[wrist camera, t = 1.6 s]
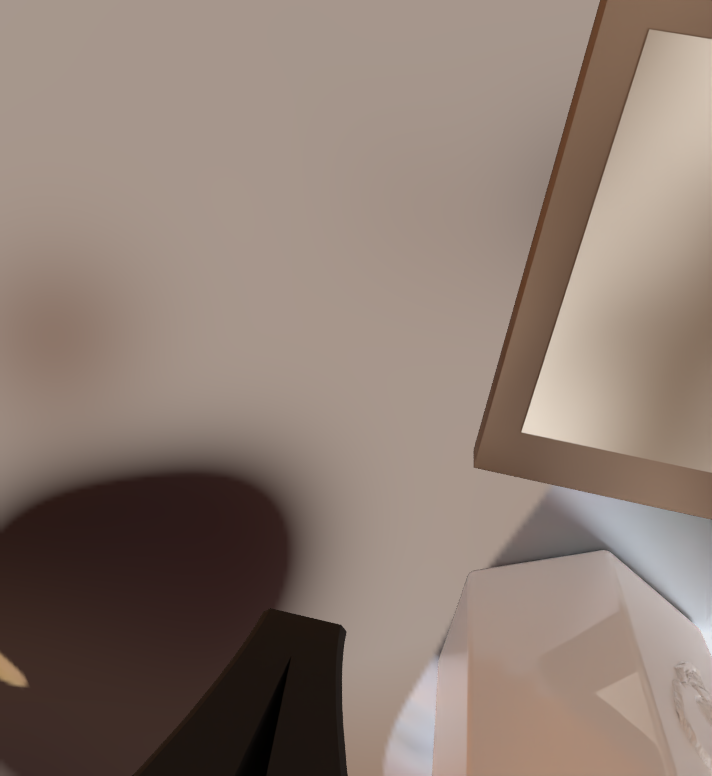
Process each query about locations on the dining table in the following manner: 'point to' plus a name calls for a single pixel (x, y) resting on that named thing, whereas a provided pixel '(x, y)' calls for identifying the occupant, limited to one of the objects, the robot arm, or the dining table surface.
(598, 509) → the dining table surface
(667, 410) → the board
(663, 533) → the dining table surface
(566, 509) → the dining table surface
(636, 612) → the jar
